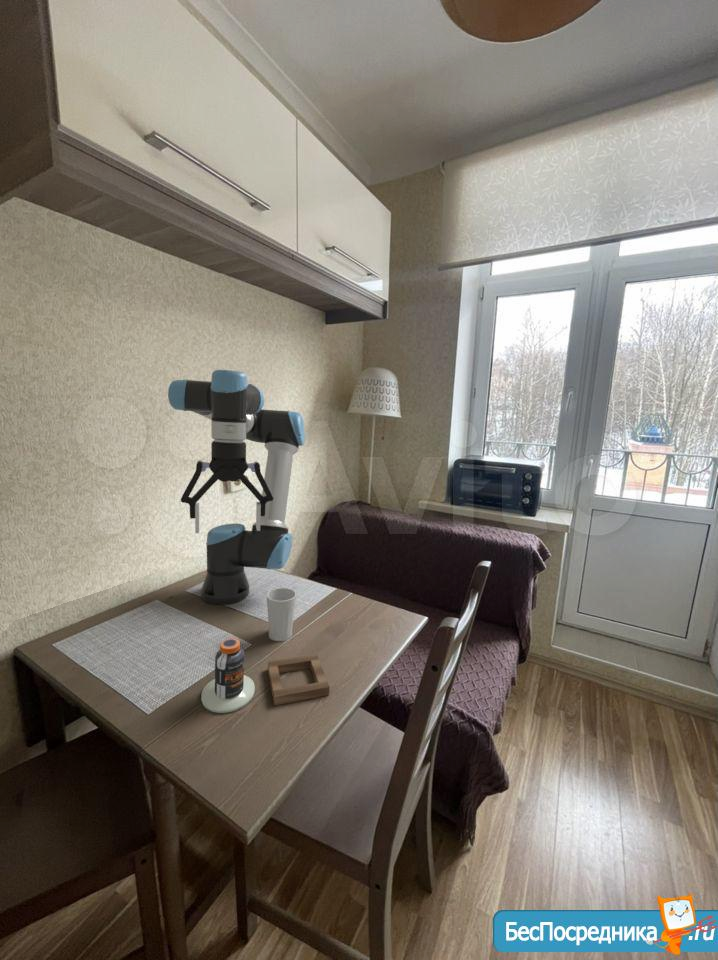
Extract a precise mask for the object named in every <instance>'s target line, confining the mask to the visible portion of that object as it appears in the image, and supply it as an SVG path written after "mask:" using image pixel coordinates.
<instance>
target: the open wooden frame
mask: <svg viewBox="0 0 718 960" xmlns="http://www.w3.org/2000/svg"><path fill="white" fill-rule="evenodd" d="M305 669H310V671H311V674H312V675H313V679H314V682H313V683H308V684H301V685H297V686H292V687H285V688H283V685H282V679H281V677H280V676H281V675H280V674H282V673H287V672H295V671H300V670H305ZM267 673H268V679H269V684H270V689H271V695H272V696H271V697H272V701H273V706H279V705H284V704H289V703H294V702H300V701H305V700H308V699H315V698H319V697H327V696H329V695H330V684H329V682H328V679H327V676H326V674H325V672H324V670H323V667H322V663H321V661H320V658H319V656H318V654H310V655H304V656H297V657H292V658H291V657H290V658H285V659H284V658H283V659H278V660H272V661H268V662H267Z"/></svg>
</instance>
